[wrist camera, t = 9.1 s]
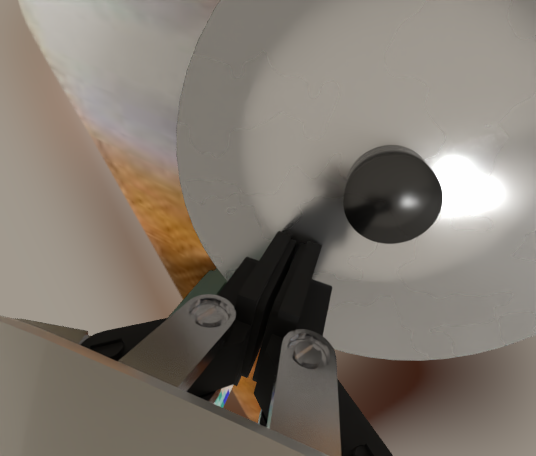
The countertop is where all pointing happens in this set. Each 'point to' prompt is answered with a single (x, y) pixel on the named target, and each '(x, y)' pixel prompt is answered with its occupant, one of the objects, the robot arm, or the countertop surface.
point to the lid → (374, 161)
